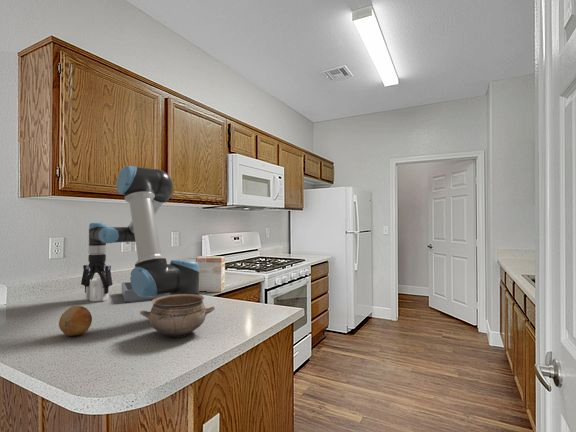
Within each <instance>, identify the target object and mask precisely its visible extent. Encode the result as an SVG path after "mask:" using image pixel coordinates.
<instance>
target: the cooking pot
mask: <svg viewBox="0 0 576 432" xmlns="http://www.w3.org/2000/svg"><path fill="white" fill-rule="evenodd" d="M204 300H205V297H204V296H202V295H201V294H199V295H195V294H175V295H167V296H162V297H158V298H155V299H153V300H152V301H151V303H152V307H151V309H150V311H146V310H143V309H142V310H140V311H139V313H140V315H141V316H142V317H145V318H147V319H148V320H149V323H150V325H151V326H152V328H153V329H154V330H155V331H157V332H159V333H160V334H162V335H165V336H167V337H170V338H181V337H182V336H183V337H185V336H188V335H189V334H190V333H192V332H194V331H195V330H196V329H198V328H200V327H201V325H203V324H204V322H205V320H206V316H207V315H208V314H210V313H212V312H213V311H215V306H211V307H206V306H205V303H204ZM187 334H188V335H187Z"/></svg>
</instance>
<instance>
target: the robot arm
mask: <svg viewBox="0 0 576 432" xmlns="http://www.w3.org/2000/svg"><path fill="white" fill-rule="evenodd" d="M173 183H174V182H173V180H172V178H171V176H170V174H168V173H167V172H166V171H164V170H162V169H159V168H149V167H141V166H135V165H124V166H123V167H122V168H121V169H120V170H119V172H118V176H117V179H116V191H117V193H118V194H120V195H123V196H124V201H125V202H127V204H129V210H130V216H131V222H130V224H129V225H128V226H107V223H106V222H91V223H90V222H89V225H88V257H87V258H88V264H84V265H82V267H83V272H82V277H81V282H80V285H82V286H84V293H85V301H90V298H89V296H90V280H92V279H94V277H95V275H96V274H97V275H98V276H99V278H101V281H102V283H103V286H104V287H102V301H101V302H105V301H108V299H107V293H108V294H109V290H108V288H110V287H111V286H113V279H112V274H111V273H112V272H111V267H112V265H107V264H106V260H107V257H106V256H107V254H106V252H107V244H113V243H135V246H136V252H137V258H138V259H137V261H136V262H134V268H133V269H132V270H131V272H130V277H129V278H130V282H131V285H132V288H133V290H134V292H135V293H136V294H137V295H138V296H140V297H153V296H157V295H163V294H169V293H170V295H175V294H195V295H200V292H199V273H200V271H199V264H198V263H197V262H196V261H195V260H183V259H182V260H181V259H171V260H170V262H169V264H168V262H167V258H166V257H165V256H163V255H162V251H161V245H160V239H159V233H158V228H157V222H156V214H157V213H158V212H159V210H160V209H161V207H162V206H163V204H165V203H167V202H168V201H169V199H170V198H171V197H172V195H173V191H174V184H173Z"/></svg>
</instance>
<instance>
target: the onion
mask: <svg viewBox="0 0 576 432" xmlns="http://www.w3.org/2000/svg"><path fill="white" fill-rule="evenodd" d="M92 321H93V316H92V313H91V312H90V310H89V309H88V308H86V307H84V306H83V305H72V306H71V307H69V308H67V309H66V310H65V311H64V312H63V313H62V314H61V315H60V318H59V320H58V327H59V330H60V331H61V332H62V333H63V334H64V335H66V336H68V337H70V336H72V337H74V336H82V335H84V334H85V333H86V332H87V331H88V330H89V329H90V327H91V325H92V323H93V322H92Z"/></svg>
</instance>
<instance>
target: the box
mask: <svg viewBox="0 0 576 432" xmlns="http://www.w3.org/2000/svg"><path fill="white" fill-rule="evenodd" d="M121 295H122V299H123V301H124V303H125V304H130V303H140V302H142V303H143V302H149V301H151V302H152V300H153V299H155V298H158V297H162V296H167V295H170V293H169V294H163V295H157V296H153V297H140V296H138V295H137V294H136V293H135V292H134V290H133V288H132V285H131V281H125V282H124V281H123V282H121Z"/></svg>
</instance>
